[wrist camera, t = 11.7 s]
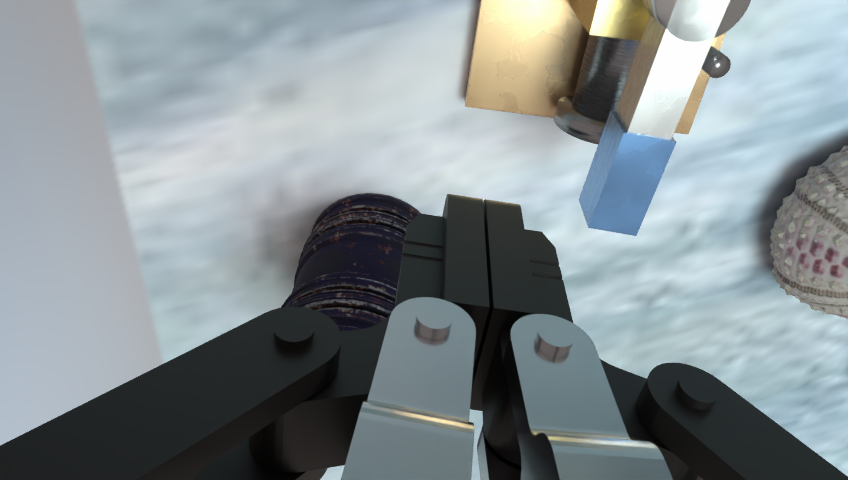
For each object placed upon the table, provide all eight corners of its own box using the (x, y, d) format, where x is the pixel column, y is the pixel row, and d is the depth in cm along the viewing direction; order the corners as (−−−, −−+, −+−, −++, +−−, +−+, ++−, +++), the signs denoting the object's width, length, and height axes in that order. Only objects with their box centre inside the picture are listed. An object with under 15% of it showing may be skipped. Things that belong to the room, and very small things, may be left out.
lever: (659, -72, 25) (680, -64, 23) (743, -55, 25) (772, -45, 23) (567, 197, 32) (576, 225, 30) (634, 209, 32) (648, 237, 30)
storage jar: (420, 314, 49) (406, 476, 36) (299, 285, 48) (242, 440, 35) (456, 211, 44) (455, 358, 31) (321, 175, 43) (263, 312, 30)
